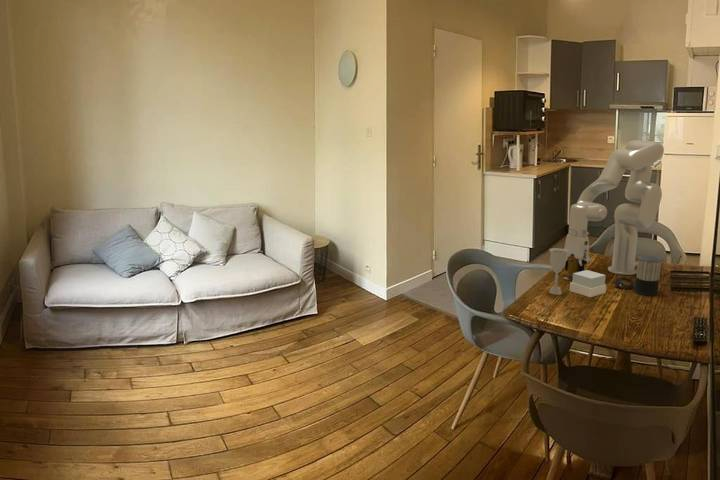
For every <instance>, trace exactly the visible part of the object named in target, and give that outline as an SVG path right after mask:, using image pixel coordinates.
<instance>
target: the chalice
mask: <svg viewBox="0 0 720 480" xmlns="http://www.w3.org/2000/svg"><path fill="white" fill-rule="evenodd" d="M567 252H568V250H565V249H564V248H558V247H557V248H555V247H554V248H553V247H552V248H549V253H550V254H549V255H550V256H549V263H550V266H551V269H552V271H553V272H554V273H555V275H554V281H553V282H554V285H553V286H551V287H550V289H549V291H548V293H549V294H551V295H555V296H556V295H562V294H563V292H562V288H561V287H560V286H558V283H559V282H560V281H559V278H560V277H559V273H562V271H563V269H565V263H566V254H567Z"/></svg>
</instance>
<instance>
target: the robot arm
mask: <svg viewBox="0 0 720 480" xmlns="http://www.w3.org/2000/svg"><path fill="white" fill-rule="evenodd" d="M664 149H665V148H664V146H663V144H661V142H658V141H652V140H651V141H650V140H642V139H641V140H640V139H639V140H638V139H634V140H630V141H628V142H627V144H626V145H625V148H620V149H619V148H618V149H615V150H613V151H612V152H611V154H610V155H609V158H608V160H607V162H606V163H605V165H604V167H603V169H602V171H601V173H600V175H599V177H598V178H597V179H596V180H595V181H592V183H591V184H589V186H587V187H586V188H585V189H584V190H583V191H582V192H581V194H580V195H579V198H578V199H577V202H576V203H574V204H573V203H572V205H570V210H569V211H570V212H569V221H568V222H569V223H568V224H569V225H568V233H567V235H566V237H565V242H564V248H563V249H565V250H568V252H567V254H566V263H565V266H564V271H566V272H567V269H568V259H569V257H570V255H571V254H574V257H575V258H576V259H578V260H579V264H580V265H579V266H578V272H581V271H585V266H587V264H588V263H589V262H590V261H592V257H591V256H590V240H589V234H590V233H589V232H590V231H588V223H589V221H591V222H600V221H603V220H604V219H606V217H607V215H608V209H607V207H606V206H605V205H603V204H600V203H598V202H593V201H594V200H595V198H596V197H598V196H599V195H600V194H602V193H605V192H608V191H611V190H614V189H616V188H617V187H618V186H619V184H620V182H621V180H622V178H623V176H624V174H625V173H626V171H627V170H629V171H630V175H629V178H628V180H627V184H626V186H625V192H624V197H625V199H626V200H628V201H629V202H634V203H640V205H638V204H632V203H621V204H620V205H618V206H617V207H616V208H615V210H614V215H613V218H614V229H615V230H614V239H613V240H614V241H613V251H612V261H611V265H610V266H608V267H607V271H608V272H610V273H612V274H616V275H622V276H633V275H634V276H635V275H637V268H635V267H637V266H638V260H637V261H636V254H637V245H638V244H637V243H638V229H649V228H650V227H651V226H652V225H653V223H654V221H655V219H656V216H657V213H658V210H659V207H660V203H661V200H662V197H663V192H662V188H661V186H660V185H658V184H657V183H655V182H650V181H651V177H652V173H653V167H652V164H655V163H656V162H657V161H659V160H660V159H661V158H662V157H663V155H664V151H665V150H664ZM637 228H638V229H637Z"/></svg>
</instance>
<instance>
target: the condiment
mask: <svg viewBox="0 0 720 480" xmlns="http://www.w3.org/2000/svg"><path fill="white" fill-rule="evenodd" d="M579 265H580V264H579V260H578V259H576V258H575V257H574V254H571V255H570V257H569V259H568V269H567V271H566V276H565V277H563V279H564V280H568V281H572V280H573V273H577V272H578V266H579Z"/></svg>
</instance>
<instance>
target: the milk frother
mask: <svg viewBox="0 0 720 480" xmlns="http://www.w3.org/2000/svg"><path fill="white" fill-rule="evenodd" d="M637 261H638V265H637V266H636V269H637V274H636V277H635V281H634V280H633V279H631V278H629V277H628V276H627V277H626V276H622V277H619V278H617V279H616V280H615V281H614V285H615V287H617V288H620V289H624V290H625V289H626V290H628V289H631V288H633V286H634V289H633V292H635V293H636V294H638V295H642V296H650V297H651V296H657V295H658V294H659V283H660V276H661V267H662V262H663V258H661V257H659V256H656V255H647V254H643V255H638V256H637ZM624 281H626V282H629V283H630V284H629V285H624Z"/></svg>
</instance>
